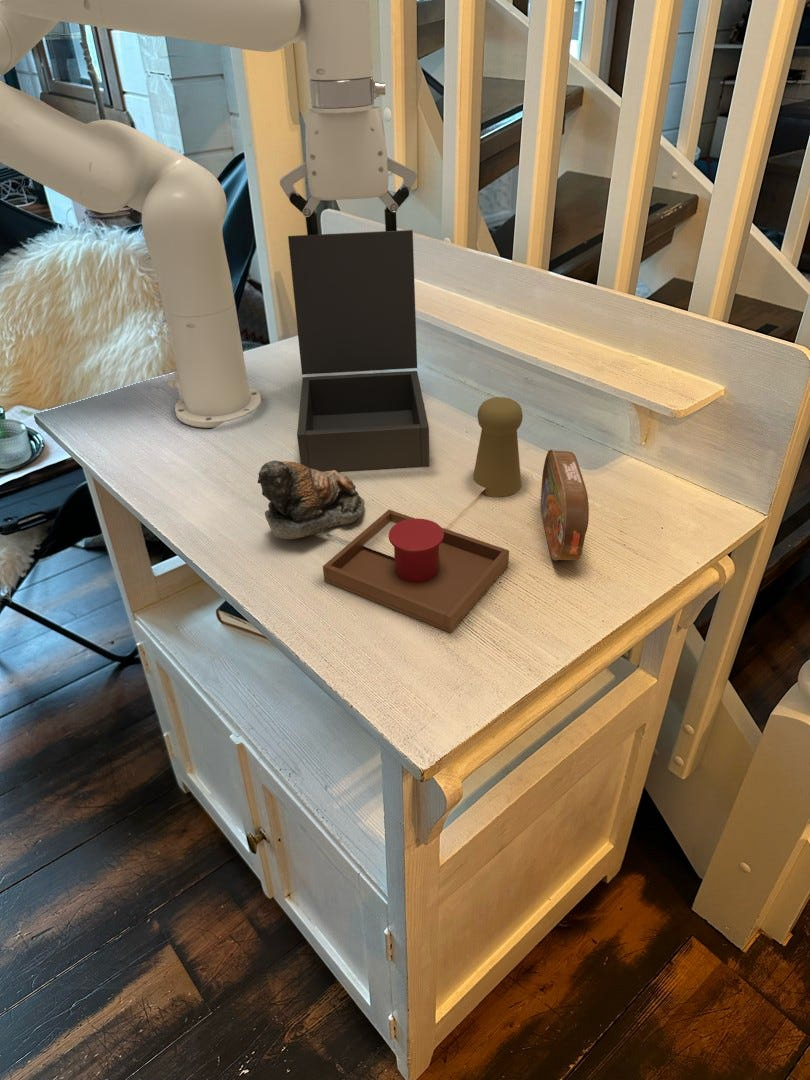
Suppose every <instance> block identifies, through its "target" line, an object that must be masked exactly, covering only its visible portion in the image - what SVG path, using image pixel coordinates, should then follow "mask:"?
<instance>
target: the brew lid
mask: <svg viewBox="0 0 810 1080" xmlns="http://www.w3.org/2000/svg"><path fill="white" fill-rule="evenodd" d="M287 241H288V250H289V259H290V261H289V262H290V269H291V279H292V289H293V290H292V291H293V299H294V300H293V301H294V307H295V308H294V309H295V319H296V329H297V339H298V348H299V358H300V370H301V375H303V376H304V375H320V374H322V375H323V374H337V373H339V374H340V373H355V372H356V373H357V372H372V371H373V372H374V371H375V372H376V371H389V370H393V371H394V370H411V369H418V348H417V347H418V346H417V345H418V344H417V318H416V316H417V315H416V288H415V287H416V286H415V259H414V258H415V257H414V230H413V229H403V230H397V231H385V230H383V231H363V232H362V231H361V232H360V231H359V232H342V233H319V234H318V235H307V234H300V235H288V236H287Z"/></svg>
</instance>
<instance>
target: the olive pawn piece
mask: <svg viewBox="0 0 810 1080" xmlns="http://www.w3.org/2000/svg"><path fill="white" fill-rule="evenodd" d="M523 417H524V414H523V410H522V407H521V405H520V403H518V401H516V400H514V399H512V398H509V397H504V396H497V397H495V396H494V397H491V398H488V399H486V400H484V401H483V402H482V403H481V404H480V405H479V407H478V410H477V422H478V425H479V427H480V428H481V431H480V436H479V442H478V447H477V454H476V459H475V464H474V469H473V474H472V475H473V477H472V478H473V481H474V482H475V483H476V484H477V485H478V486H480V487H482V488H484V489H483V490H482V491H481V492H480V494H481V495H484V496H487V497H491V498H492V497H493V498H504V497H509V496H512V495H514V494H516V493H517V492H519V491H520V489H521V487H522V478H521V464H520V452H519V439H518V429H519V428H520V427H521V425H522V422H523Z"/></svg>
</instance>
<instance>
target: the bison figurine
mask: <svg viewBox="0 0 810 1080" xmlns="http://www.w3.org/2000/svg"><path fill="white" fill-rule="evenodd" d="M257 475H258V478H257V484H259V485H260V487H261V495H263V497H265V498H266V499H267V500H268V501H269V502H268V505H267V506H268V509H267V510H266V511H264V516H265V520H266V522H267V524H268V526H269V528H270V531H271V532H272V534H273V535H274V536H275V537H277V538H279V539H283V540H295V539H301V538H304V537H308V536H311V535H312V536H313V535H315V534H319V533H322V532H324V531H325V530H328V529H330V528H333V527H338V526H347V525H352V524H353V523H355V521H357V520H358V519H359V518H360V517H361V516H362V515H363V512H364V510H365V505H366V503H365V499H364V498H363V497H361V495H360V494H359V492H358V491H357V490H356V489H357V487H356V485H355V484H354V482H353V481H352V479H350V478H349V477H348V476H347V475H346V474H344V473H342V472H337V471H335V470H333V471H326V472H321V471H318V470H315V469H310V468H307V467H306V466H304V465H301V463H298V462H296V461H288V460H287V461H286V460H285V461H280V460H271V461H268V462H265V463H264V464H263V465H262V466H261V467H260V470H259V471H258V474H257Z"/></svg>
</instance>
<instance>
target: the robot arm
mask: <svg viewBox="0 0 810 1080" xmlns="http://www.w3.org/2000/svg"><path fill="white" fill-rule="evenodd" d="M369 4H370V3H369V0H0V78H1V77H3V76H5V75H6V74H7V73H8V72H9V71H11V70H12V69H13V68H14V67H16V66H17V64H18V63H19V62H20V61H21V60H23V59H24V57H26V55H27V54H28V53H30V52H31V51H32V49H33V48H35V46H37V44H38V43H39V42H41V40H43V39H44V38H45V36H47V35H48V34H49V33H50V32H51V31H52V30H53V29H54V28H55V27H56V26H57V25H58V24H59V22H63V23H68V24H77V25H83V26H91V27H97V28H103V29H108V30H115V31H119V32H127V33H132V34H139V35H144V36H148V37H163V38H164V37H166V38H172V39H173V38H174V39H179V40H180V39H181V40H186V41H191V42H196V43H204V44H210V45H216V46H223V47H229V48H235V49H241V50H247V51H253V52H261V53H273V52H277V51H280V50H282V49H283V48H286V46H288V45H292V44H297V43H302V42H304V43H305V51H306V52H305V53H306V60H307V61H306V64H307V72H308V79H309V80H308V82H309V92H310V104H311V108H309V109H306V112H305V128H304V129H305V130H304V133H305V134H304V137H305V140H304V141H305V156H306V157H305V160H306V161H305V162H303V163H301V164H300V165H299V166H297V167H295V168H293V170H291V171H289V172H288V173H287V174H285V175H283V176H282V177H281V178H280V180H279V185H280V187H281V189H282V190H283V192H284V194H285V195H286V196H287V198H288V199H289V203H290V204H292V206H294V208H295V209H297V210H298V211H299V212H300V213H302V215H303V216H304V217H305V224H306V225H305V227H306V235H318V234H320V230H319V220H318V213H317V212H316V209H317V207H318V206H319V205H320V202H322V201H343V200H361V199H374V198H378V199H379V200H380V201H381V202H382V203H383V205H385V208H384V209H383V210H384V227H385V229H384V231H398V225H397V223H398V222H397V212H398V210H399V208H400V207H401V206H402V205H403V203H404V202H405V201H406V200H407V199H408V198H409V196H410V193H411V191H412V189H413V186H414V184H415V182H416V180H417V173H416V171H415V170H414V169H412V168H410V167H408V166H406V165H405V164H402V163H400V162H398V161H396V160H394V159H392V158H390V157H388V153H387V152H388V151H387V143H386V133H385V127H384V126H385V125H384V119H383V115H382V111H381V106H380V105H375V100H377V98H380V96H386V83H385V82H380V81H376V79H373V60H372V43H371V41H372V40H371V24H370V5H369ZM0 163H1V164H3V165H5V166H7V167H9V168H11V169H12V170H15V171H17V172H19V173H20V174H21V175H23V176H25V177H27V178H29V179H31V180H33V181H34V182H37V183H39V184H40V185H42V186H45V187H46V188H48V189H51V190H52V191H54V192H56V193H58V194H60V195H62V196H64V197H66V198H68V199H69V200H71V201H73V202H75V203H77V204H79V205H81V206H82V207H84V208H86V209H88V210H91V211H93V212H97V213H101V214H111V213H116V212H118V211H120V210H122V209H124V208H125V207H126V206H127V207H128V208H130V209H133V210H135V211H136V212H138V213H140V214H141V229H142V233H143V238H144V242H145V245H146V248H147V252H148V254H149V258H150V260H151V264H152V267H153V271H154V274H155V277H156V281H157V286H158V289H159V293H160V299H161V303H162V308H163V311H164V316H165V320H166V325H167V330H168V333H169V338H170V344H171V347H172V352H173V357H174V361H175V366H176V369H175V371H174V372H173V378H170V379H168V381H167V386H168V387H169V389H170V388H171V389H173V390H177V391H178V396H179V399H178V400H177V401H176V403H175V405H174V411H175V416H176V418H177V420H179V421H180V422H182V423H183V424H185V425H188V426H192V427H196V428H205V429H207V428H216V427H219V426H220V425H222V424H223V423H225V422H230V421H233V420H237V419H240V418H243V417H245V416H247V415H249V414H252V412H254V411H255V410H257V409H258V408H259V406H260V405H261V403H262V401H263V399H262V395H261V394H260V392H259V391H258V390H256V389H255V388H252V387H250V386H249V379H248V373H247V369H246V361H245V355H244V349H243V342H242V336H241V330H240V324H239V319H238V313H237V306H236V299H235V294H234V288H233V283H232V277H231V272H230V267H229V263H228V257H227V253H226V247H225V242H224V233H223V226H224V222H225V220H226V215H227V209H228V203H227V202H228V201H227V196H226V193H225V190H224V187H223V186H222V184H221V183H220V181H219V179H218V178H216V176H215V175H214V174H213V173H212V172H211V171H209V170H208V169H207V168H205V167H204V166H202V165H201V164H199V163H197V162H196V161H194V160H192V159H190V158H188V157H187V156H185V155H183V154H181V153H180V152H178V151H175V150H174V149H172V148H170V147H168V146H167V145H165V144H164V143H161V142H159V141H158V140H156V139H155V138H152V137H151V136H149V135H147V134H145V133H144V132H142V131H140V130H138V129H136V128H135V127H132V126H130V125H128V124H125V123H123V122H120V121H117V120H112V119H98V120H93V121H90V122H88V123H85V122H83V121H80V120H78V119H77V118H74V117H72V116H70V115H68V114H66V113H64V112H62V111H60V110H59V109H56V108H54V107H52V106H51V105H50V104H47V103H46V102H44V101H43V100H42V99H39V98H37V97H35V96H33V95H31V94H29V93H26V92H24V91H22V90H20V89H17V88H15V87H13V86H10V85H8V84H6V83H5V82H3V81H2V80H0ZM389 172H390V173H392V174H393V175H396V176H397V177H400V178H402V182H401V185H400V187H399V188H398V189H397V191H396V192H395V193H394V194H392V193H391V191H390V190H389ZM306 176H307V177H306ZM305 177H306V178H307V184H308V190H309V194H310V195H308V197H307V199H305V198H304V197H303V196H302V195H301V194H300V193H299V192H297V189H296V188H295V186H294V185H295V184H296V183H298V182H299V181H301V180H302V179H303V178H305Z"/></svg>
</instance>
